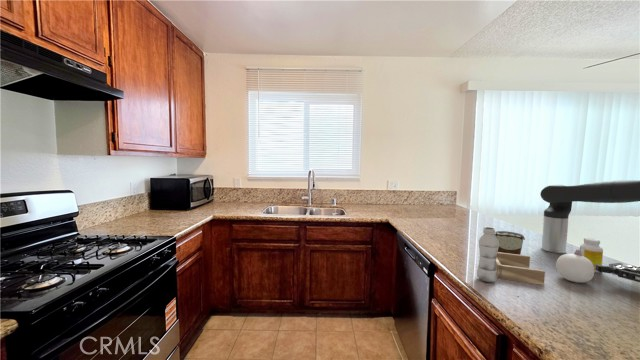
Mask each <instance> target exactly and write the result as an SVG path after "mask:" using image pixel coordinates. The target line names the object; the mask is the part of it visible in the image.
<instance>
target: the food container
mask: <svg viewBox="0 0 640 360" xmlns="http://www.w3.org/2000/svg"><path fill="white" fill-rule="evenodd" d="M494 235H495V237H496V238H497V240H498V241H499V248H498V252H501V253H509V254H518V255H522V249H523V245H524V241H526V238H525V235H524V234H521V233H517V232H513V231H508V230H507V231H505V230H498V231H497V230H495V234H494Z"/></svg>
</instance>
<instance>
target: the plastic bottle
mask: <svg viewBox="0 0 640 360" xmlns="http://www.w3.org/2000/svg"><path fill="white" fill-rule="evenodd" d="M495 232H496V229H495V228H494V227H491V226H489V227H488V226H487V227H483V230H482V233H483V234H482V235H481V236H480V237H479V239H478V250H479V253H478V254H479V256H478V257H479V260H478V266H477V269H476V276H477V278H478V279H479V280H480V281H483V282H485V283H494V282H495V281H497V279H498V278H497V276H498V275H497V270H496V269H497V268H496V259H497V252H498V248H499V241H498V240H497V238H496V237H495V235H494V234H495Z"/></svg>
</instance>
